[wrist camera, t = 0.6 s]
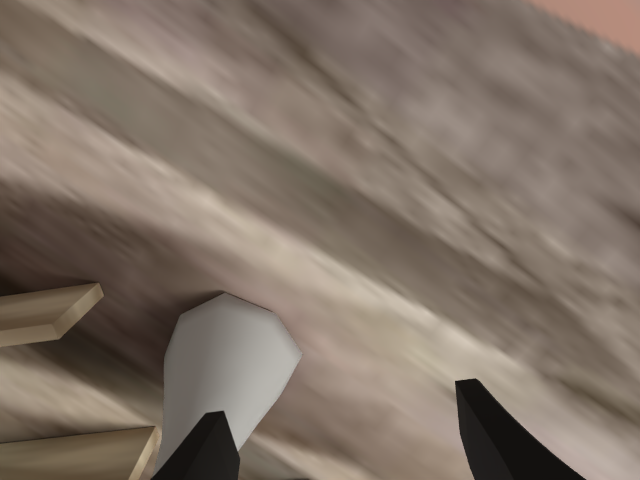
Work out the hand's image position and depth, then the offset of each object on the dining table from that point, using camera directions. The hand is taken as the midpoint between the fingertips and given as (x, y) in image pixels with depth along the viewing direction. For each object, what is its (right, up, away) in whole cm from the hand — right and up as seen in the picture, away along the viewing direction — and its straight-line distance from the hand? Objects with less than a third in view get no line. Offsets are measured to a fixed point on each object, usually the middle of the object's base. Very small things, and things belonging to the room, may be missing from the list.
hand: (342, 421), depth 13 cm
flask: (-5, -1, +11) cm, 12 cm away
